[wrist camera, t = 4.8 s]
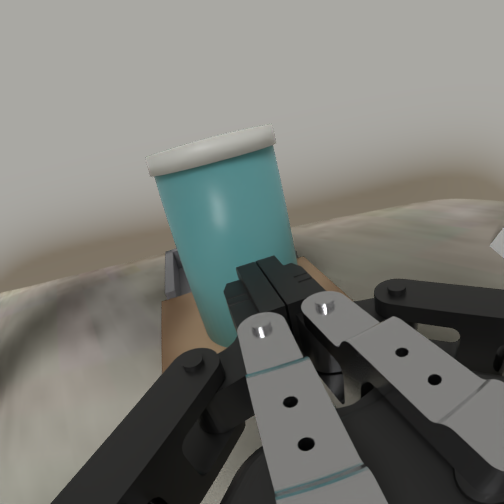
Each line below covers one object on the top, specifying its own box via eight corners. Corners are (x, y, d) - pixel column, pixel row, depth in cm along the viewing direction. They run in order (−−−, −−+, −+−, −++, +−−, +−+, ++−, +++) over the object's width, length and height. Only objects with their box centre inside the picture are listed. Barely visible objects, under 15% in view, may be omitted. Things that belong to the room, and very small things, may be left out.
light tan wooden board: (176, 410, 16) (162, 387, 16) (170, 321, 26) (161, 301, 25) (369, 341, 18) (368, 315, 17) (307, 277, 27) (303, 256, 27)
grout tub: (210, 366, 17) (138, 160, 12) (198, 306, 23) (149, 155, 19) (327, 325, 18) (291, 120, 13) (287, 277, 24) (253, 126, 20)
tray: (175, 320, 26) (164, 293, 25) (173, 273, 35) (165, 251, 34) (301, 279, 27) (296, 251, 26) (267, 243, 36) (262, 221, 35)
